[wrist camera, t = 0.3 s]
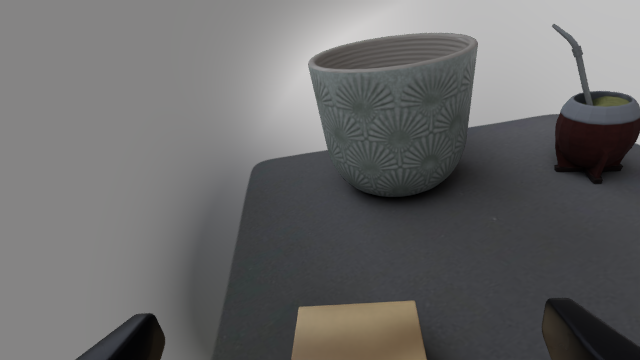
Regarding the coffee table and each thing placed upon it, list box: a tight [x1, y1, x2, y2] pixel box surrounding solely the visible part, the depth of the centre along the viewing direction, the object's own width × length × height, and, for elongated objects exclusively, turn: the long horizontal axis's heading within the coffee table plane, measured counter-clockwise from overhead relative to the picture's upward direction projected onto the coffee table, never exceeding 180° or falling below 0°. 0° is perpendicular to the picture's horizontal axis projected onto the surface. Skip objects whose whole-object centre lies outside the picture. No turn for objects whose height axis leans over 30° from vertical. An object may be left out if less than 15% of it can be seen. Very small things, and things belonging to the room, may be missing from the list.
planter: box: [308, 33, 478, 197], centre depth 42 cm, size 17×17×15 cm
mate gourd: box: [552, 24, 640, 184], centre depth 38 cm, size 8×8×15 cm
